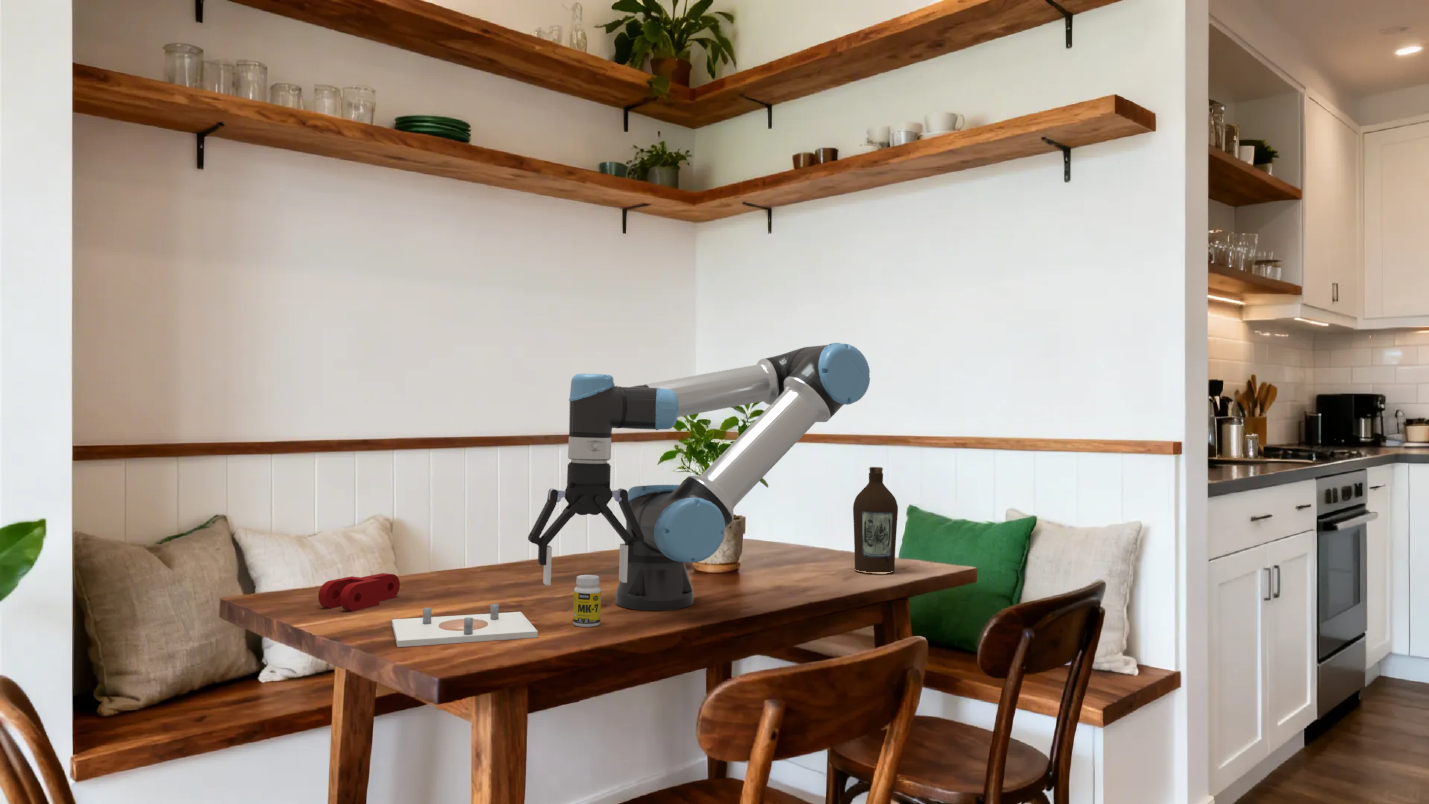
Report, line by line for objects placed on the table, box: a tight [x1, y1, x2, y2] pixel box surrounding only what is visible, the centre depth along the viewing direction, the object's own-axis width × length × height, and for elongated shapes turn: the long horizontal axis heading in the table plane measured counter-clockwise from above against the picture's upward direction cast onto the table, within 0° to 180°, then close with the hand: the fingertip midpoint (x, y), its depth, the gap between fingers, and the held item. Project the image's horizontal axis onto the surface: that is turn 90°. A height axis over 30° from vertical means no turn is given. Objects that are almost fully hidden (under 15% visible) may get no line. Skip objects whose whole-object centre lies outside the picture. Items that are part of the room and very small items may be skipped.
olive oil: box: [852, 466, 899, 572], centre depth 229 cm, size 11×11×25 cm
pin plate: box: [391, 603, 539, 648], centre depth 161 cm, size 22×16×4 cm
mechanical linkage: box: [317, 572, 401, 612], centre depth 183 cm, size 16×7×5 cm, turn 156°
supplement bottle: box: [572, 574, 602, 628], centre depth 168 cm, size 5×5×8 cm
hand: (585, 582), depth 168 cm, fingers open, 13 cm apart
